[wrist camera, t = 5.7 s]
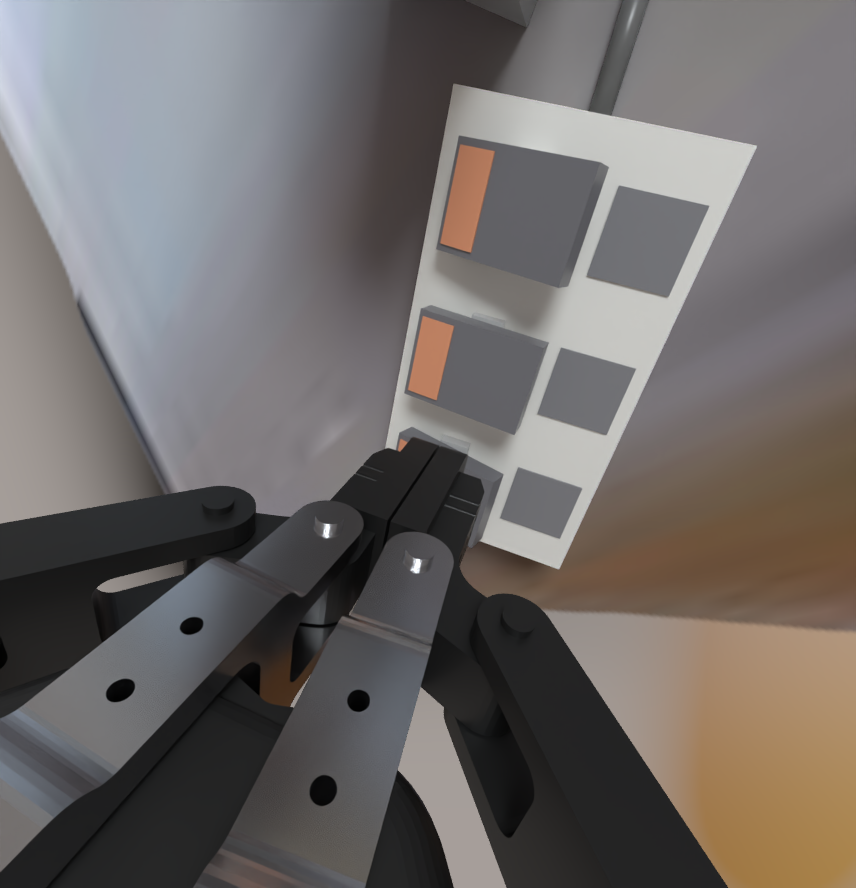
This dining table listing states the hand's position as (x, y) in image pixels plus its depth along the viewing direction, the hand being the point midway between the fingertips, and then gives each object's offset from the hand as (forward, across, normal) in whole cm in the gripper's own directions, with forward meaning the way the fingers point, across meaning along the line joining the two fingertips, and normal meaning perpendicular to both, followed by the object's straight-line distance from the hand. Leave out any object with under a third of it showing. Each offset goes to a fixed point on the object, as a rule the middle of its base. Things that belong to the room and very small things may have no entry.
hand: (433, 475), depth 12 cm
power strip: (+17, -1, -2) cm, 17 cm away
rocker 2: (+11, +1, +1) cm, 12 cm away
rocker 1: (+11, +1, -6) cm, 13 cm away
